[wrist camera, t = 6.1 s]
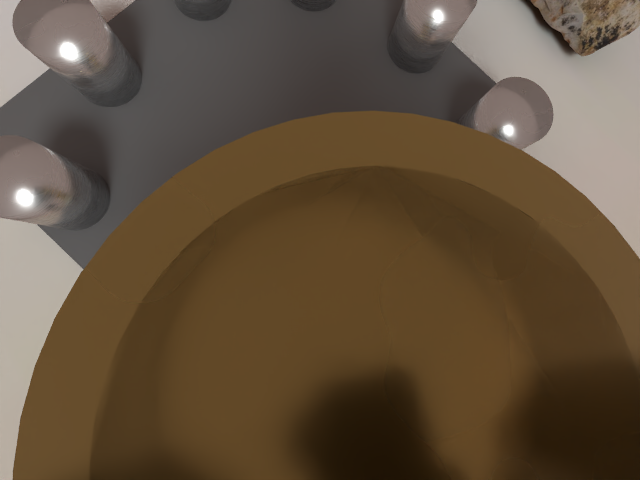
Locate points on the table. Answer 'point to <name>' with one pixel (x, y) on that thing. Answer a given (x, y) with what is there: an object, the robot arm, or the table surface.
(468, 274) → the brass sleeve
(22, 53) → the table surface
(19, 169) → the spacers
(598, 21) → the stone
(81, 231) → the mat
